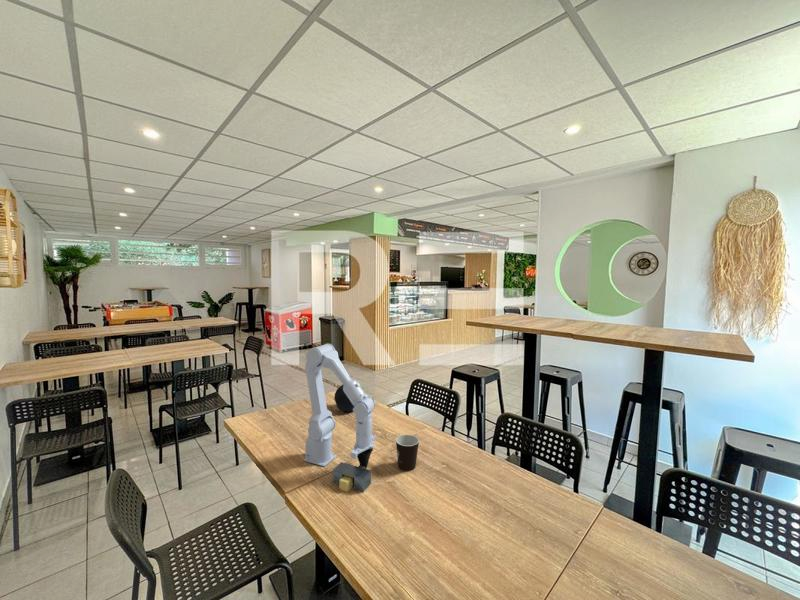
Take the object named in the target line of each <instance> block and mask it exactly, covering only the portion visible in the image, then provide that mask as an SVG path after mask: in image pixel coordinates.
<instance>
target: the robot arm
mask: <svg viewBox="0 0 800 600" xmlns="http://www.w3.org/2000/svg"><path fill="white" fill-rule="evenodd" d="M305 358H306V359H305V360H306V362H305V368H304V369H305V374H306V380H307V381H306V382H307V386H308V393H309V400H310V404H311V405H310V406H311V411H312V414H311V416H310V417H309V420H308V429H307V433H308V436H307V438H306V439H305V458H304V459H303V461H304V462H307V463H310V464H314V465H318V466H321V467H326V466H327V465H328V464H329V463H331V461H333V460H334V459H335V458H336V457H337V454H334V453H333V451H332V450H333V449H332V447H333V446H332V442H333V441H332V439H333V437H332V436H333V430H335V427H336V421H335V418H334V416H333V414H332V413H333V412H332V411H330V410H329V409H328V407H327V400H326V395H325V389H324V388H325V387H324V382H323V375H322V369H323V368H328V369H330V370H331V371H332V372H333V374H334V375H335V376H336V378H337V379H338V380H339V381H340V382H341V385H343V391H344V392H345V394H346V395H347V397H348V398H349V400H350V401H351V403H352V404H353V406H354V408H353V411H352V412H353V413H354V416H355V421H356V422H355V443H354V445H353V449H352V450H351V452H350V459H354V460H357V459H358V463H359V465H361V466H365V469H368V466H369V460H370V457H371V455H372V452H373V451H374V447H375V446H376V445H375V443H374V442H375V441H376V434H373V410H374V409H375V407H376V402H375V400H374V398H373V397H372V396H370V395H368V394H367V393H366V392H365V391H364V390H363V388H362V387H361V384H360V382H358V381H357V380H355V379H352V378H351V377H350V375H349V373H348V372H347V369H346V368H345V366H344V364H343V363H342V361H341V360H340V357H339V353H338V351H337V350H336V349H335V347H334V345H333V344H332V343H324V344H323V345H319V346H316V347H315V346H314V347H312V348H310V349H309V350H308V351H307V352H306V354H305Z"/></svg>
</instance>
